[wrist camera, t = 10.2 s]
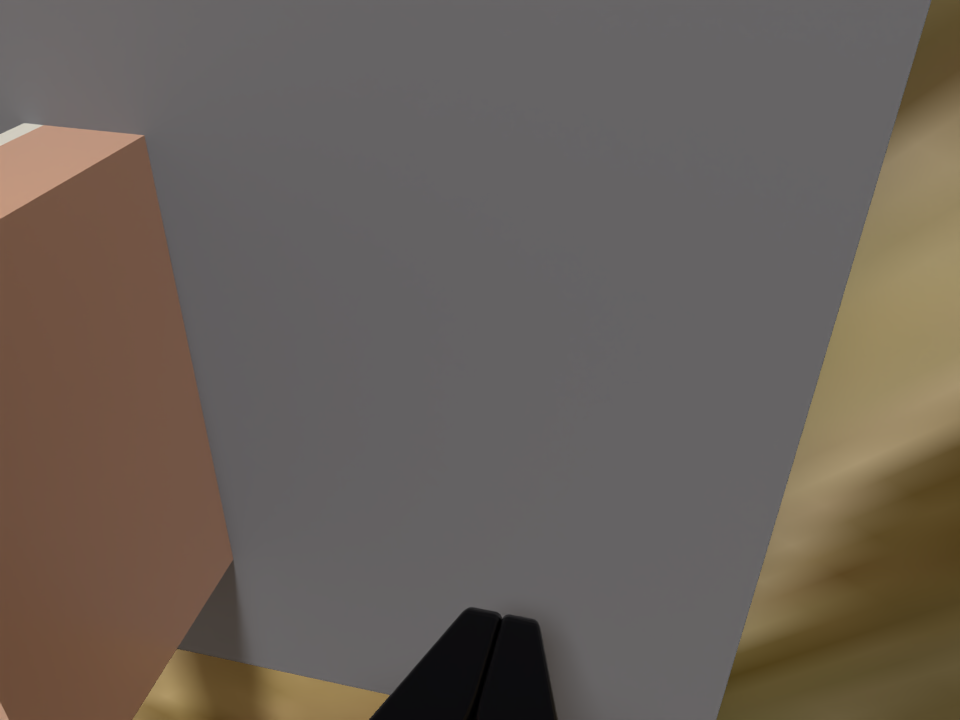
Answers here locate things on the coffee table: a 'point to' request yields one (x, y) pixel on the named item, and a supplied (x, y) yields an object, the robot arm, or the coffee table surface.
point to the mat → (493, 303)
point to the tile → (95, 433)
